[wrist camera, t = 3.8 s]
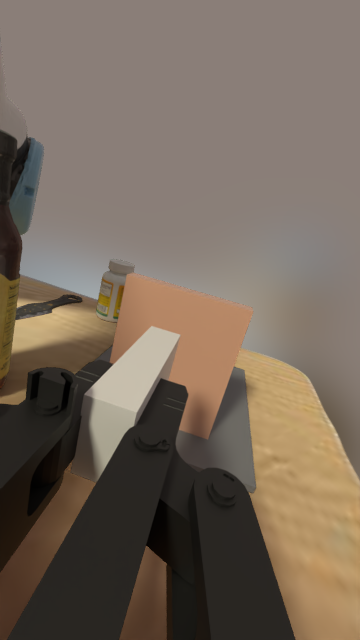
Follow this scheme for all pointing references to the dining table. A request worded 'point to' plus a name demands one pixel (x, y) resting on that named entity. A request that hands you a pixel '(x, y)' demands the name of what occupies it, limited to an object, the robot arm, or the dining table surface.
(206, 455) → the rubber mat
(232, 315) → the terracotta tile
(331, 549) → the dining table surface
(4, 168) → the sauce bottle
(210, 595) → the robot arm
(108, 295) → the supplement bottle
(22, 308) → the throwing knife
